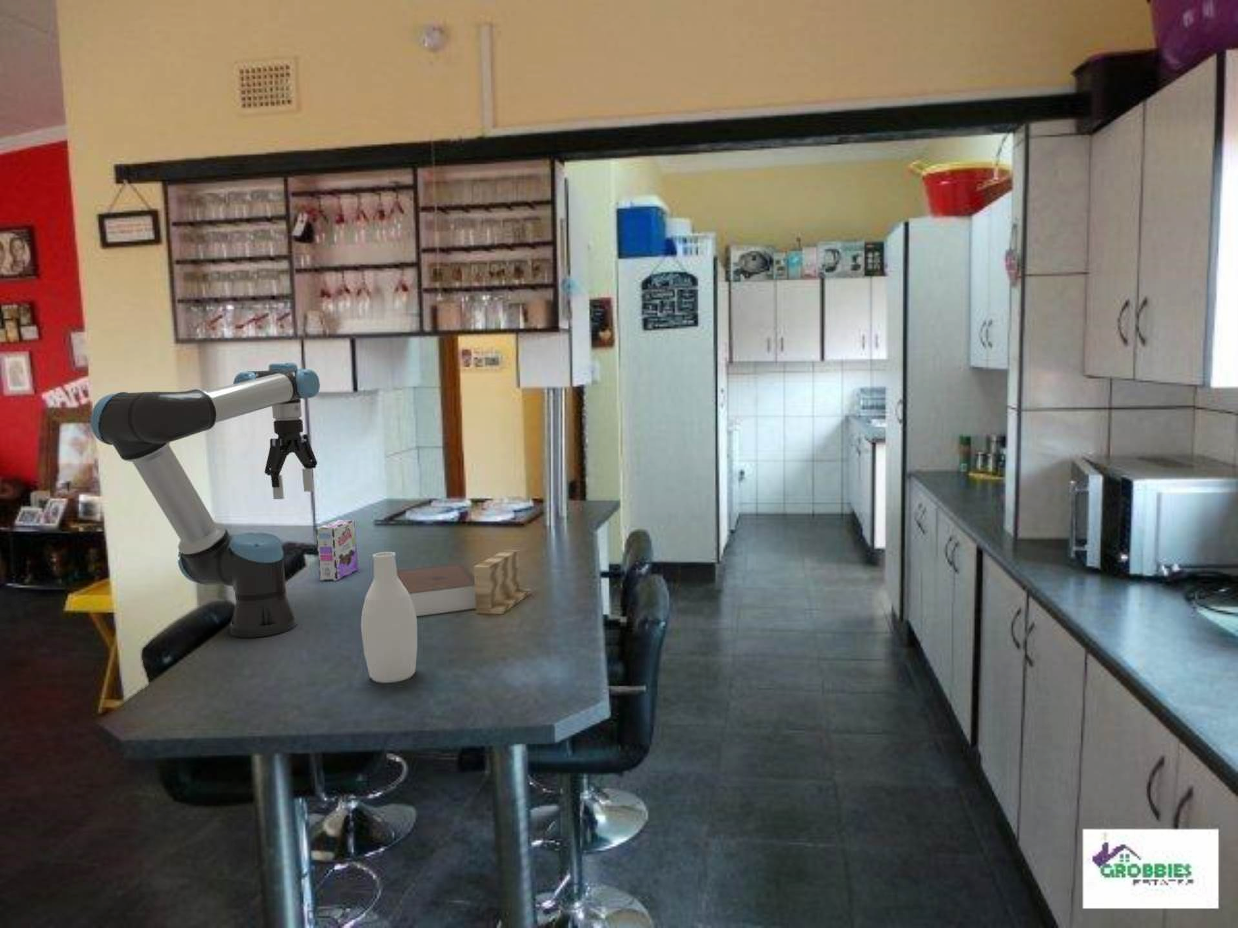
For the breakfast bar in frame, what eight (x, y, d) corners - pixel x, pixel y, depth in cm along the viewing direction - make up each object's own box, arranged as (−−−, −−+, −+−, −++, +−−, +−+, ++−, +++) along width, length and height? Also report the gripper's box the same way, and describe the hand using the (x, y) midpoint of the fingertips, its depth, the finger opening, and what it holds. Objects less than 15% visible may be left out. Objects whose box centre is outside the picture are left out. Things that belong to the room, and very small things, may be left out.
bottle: (425, 664, 189) (417, 547, 186) (414, 683, 178) (406, 558, 175) (372, 667, 189) (363, 549, 186) (358, 686, 178) (348, 561, 175)
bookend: (501, 614, 225) (499, 567, 224) (475, 613, 227) (472, 566, 226) (530, 593, 244) (528, 550, 243) (506, 592, 246) (503, 549, 245)
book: (387, 622, 224) (385, 596, 223) (376, 596, 250) (375, 573, 249) (483, 609, 232) (481, 584, 231) (463, 585, 258) (462, 563, 258)
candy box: (337, 581, 268) (332, 527, 266) (319, 581, 269) (314, 527, 267) (359, 570, 281) (355, 519, 279) (342, 570, 282) (338, 519, 280)
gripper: (270, 422, 234) (277, 502, 236) (326, 415, 257) (331, 488, 260) (246, 422, 236) (253, 502, 238) (303, 416, 259) (309, 488, 262)
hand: (294, 495), depth 249 cm, fingers open, 13 cm apart
